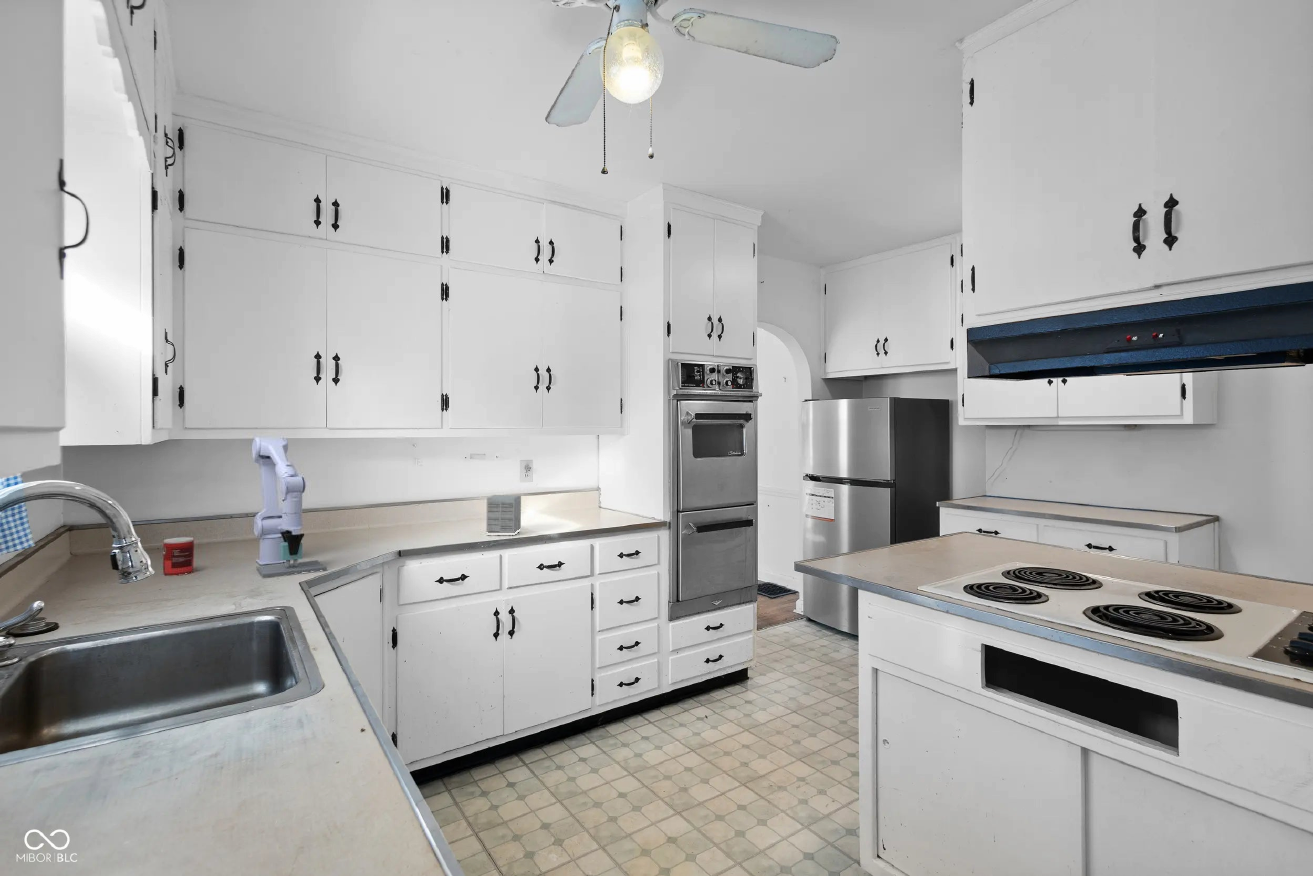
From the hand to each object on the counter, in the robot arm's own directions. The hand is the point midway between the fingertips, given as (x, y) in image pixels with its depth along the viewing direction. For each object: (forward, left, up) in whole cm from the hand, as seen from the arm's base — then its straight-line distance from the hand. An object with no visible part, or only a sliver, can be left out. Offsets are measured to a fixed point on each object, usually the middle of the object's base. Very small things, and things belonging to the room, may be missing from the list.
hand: (291, 553), depth 204 cm
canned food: (-17, -29, -6) cm, 34 cm away
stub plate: (0, 0, -6) cm, 6 cm away
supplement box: (-30, +91, -6) cm, 96 cm away
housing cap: (0, 0, -2) cm, 2 cm away
